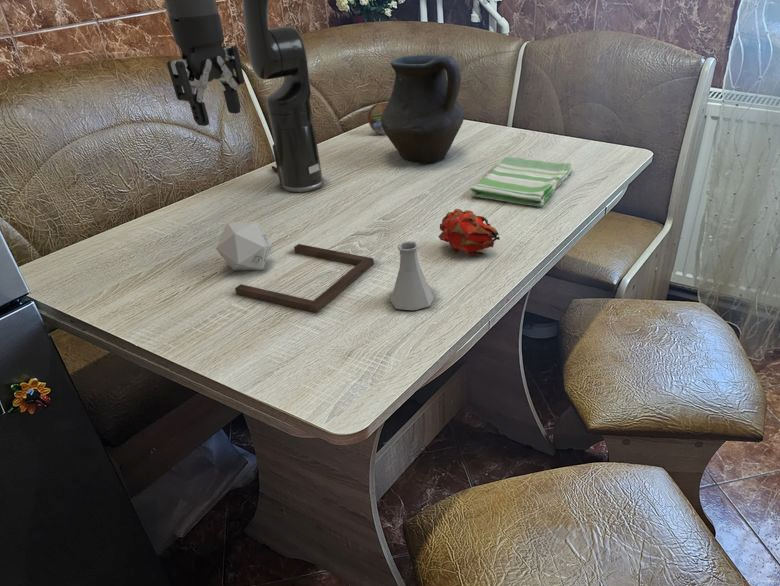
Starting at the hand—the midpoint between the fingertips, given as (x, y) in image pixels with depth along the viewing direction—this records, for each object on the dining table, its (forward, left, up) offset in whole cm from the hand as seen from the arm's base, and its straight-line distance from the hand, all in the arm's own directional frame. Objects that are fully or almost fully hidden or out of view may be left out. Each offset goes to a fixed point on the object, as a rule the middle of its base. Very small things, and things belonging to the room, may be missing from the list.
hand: (219, 118), depth 109 cm
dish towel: (+30, +54, -24) cm, 66 cm away
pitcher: (0, +58, -24) cm, 63 cm away
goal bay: (+19, -4, -24) cm, 31 cm away
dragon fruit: (+38, +20, -24) cm, 49 cm away
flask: (+40, 0, -24) cm, 47 cm away
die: (+7, -6, -24) cm, 26 cm away
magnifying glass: (-22, +72, -24) cm, 79 cm away
